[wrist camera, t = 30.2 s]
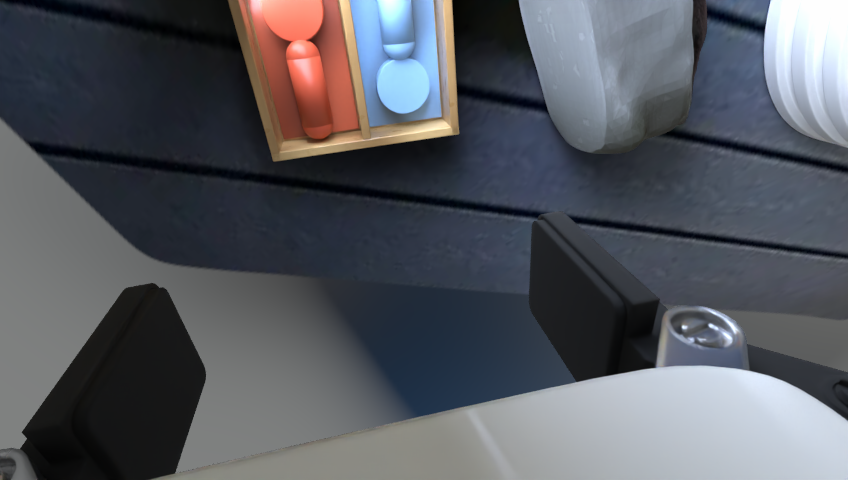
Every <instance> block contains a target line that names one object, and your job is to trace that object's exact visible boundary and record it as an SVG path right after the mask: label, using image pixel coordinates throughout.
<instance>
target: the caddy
mask: <svg viewBox="0 0 848 480" xmlns="http://www.w3.org/2000/svg"><path fill="white" fill-rule="evenodd" d="M228 2H229V6H230V10H231V13H232V17H233V20H234V24H235V27H236V31H237V34H238V38H239V42H240V45H241V49H242V52H243V56H244V59H245V63H246V66H247V70H248V73H249V77H250V81H251V84H252V88H253V91H254V95H255V98H256V102H257V105H258V109H259V113H260V116H261V120H262V123H263V127H264V130H265V134H266V137H267V141H268V144H269V148H270V152H271V155H272V159H273V161H274V162H275V161H282V160H289V159H296V158H302V157H309V156H316V155H322V154H329V153H336V152H342V151H349V150H356V149H363V148H369V147H376V146H383V145H389V144H396V143H403V142H409V141H416V140H423V139H430V138H436V137H443V136H450V135H456V134H459V124H458V105H457V86H456V66H455V47H454V28H453V9H452V0H411V5H412V16H413V27H414V38H415V46H414V50H413V52H412V54H411V55H410V56H409V57H411V58H413V59H415V60H416V61H418V62H419V63H420V64H421V65H422V66H423V67H424V68H425V69H426V71H427V73H428V75H429V79H430V91H429V95H428V98H427V100H426V101H425V103H424V104H423V105H422V106H421V107H420V108H419V109H417V110H416V111H414V112H411V113H407V114H400V113H396V112H393V111H391V110H389V109H388V108H387V107H386V106H385V105H384V104H383V103H382V101H381V100H380V98H379V96H378V94H377V91H376V87H375V79H376V74H377V72H378V69H379V68H380V66H381V65H382V64H383V63H384V62H385V61H386V60H387V59H389V58H390V57H389V56H388V55H387V54H386V52H385V51H384V48H383V44H382V36H381V28H380V21H379V13H378V5H377V0H322V2H323V6H324V19H323V23H322V25H321V28H320V29H319V31H318V32H317V34H316V35H315V36H314V37H312V38H311V39H309V41H311V42H312V43H313V44H314V45H315V46H316V47H317V48H318V50H319V53H320V57H321V62H322V67H323V72H324V77H325V82H326V87H327V92H328V97H329V102H330V107H331V112H332V117H333V124H334V125H333V130H332V132H331V133H330V135H329V136H327V137H326V138H323V139H314V138H312V137H310V136H308V135H307V134H306V133H305V131H304V130H303V127H302V123H301V119H300V115H299V110H298V106H297V102H296V98H295V94H294V89H293V85H292V81H291V77H290V72H289V68H288V64H287V60H286V50H287V48H288V46H289V44H290V43H291V42H289V41H286V40H283V39H281V38H280V37H278V36H277V35H275V34H274V33H273V32H272V31H271V30H270V29H269V27H268V26H267V24H266V23H265V21H264V18H263V16H262V12H261V6H260V0H228Z"/></svg>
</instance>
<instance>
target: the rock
mask: <svg viewBox="0 0 848 480" xmlns="http://www.w3.org/2000/svg"><path fill="white" fill-rule="evenodd" d="M519 5H520V10H521V15H522V19H523V23H524V27H525V31H526V35H527V39H528V42H529V46H530V49H531V52H532V55H533V59H534V62H535V65H536V69H537V72H538V76H539V80H540V83H541V87H542V91H543V95H544V99H545V102H546V105H547V109H548V112H549V114H550V117H551V119H552V121H553V123H554V124H555V126H556V127H557V129H558V131H559V132H560V134H561V135H562V137H563V138H564V139H565V140H566V142H567V143H569V144H570V145H571V146H573V147H575V148H576V149H579V150H582V151H585V152H588V153H597V154H617V153H626V152H629V151H631V150H633V149H635V148H636V147H638V146H639V145H640V144H641V143H642V141H644V140H646V139H649V138H652V137H655V136H658V135H661V134H664V133H666V132H668V131H671V130H672V129H674V128H675V127H676V126H677V125H680V124H683V123H684V122H685V121H686V119H687V117H688V113H689V108H690V106H691V98H692V90H693V82H694V76H695V73H696V70H697V65H698V61H699V56H700V51H701V48H702V46H703V43H704V40H705V37H706V32H707V8H706V0H519Z"/></svg>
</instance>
